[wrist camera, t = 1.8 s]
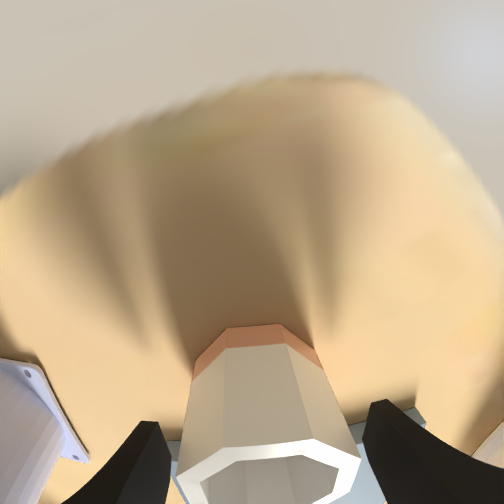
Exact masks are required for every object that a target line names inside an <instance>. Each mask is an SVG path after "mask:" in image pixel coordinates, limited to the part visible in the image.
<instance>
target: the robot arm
mask: <svg viewBox="0 0 504 504" xmlns="http://www.w3.org/2000/svg"><path fill="white" fill-rule="evenodd" d="M362 441H363V445H364V449H365V452H366V455H367V458H368V462H369V464H370V466H371V468H372V471H373V473H374V475H375V477H376V479H377V482H378V484H379V486H380V488H381V490H382V493H383V495H384V497H385V499H386V501H387V503H388V504H504V468H500V467H497V466H494V465H491V464H488V463H485V462H482V461H480V460H477V459H475V458H473V457H471V456H469V455H467V454H465V453H462V452H460V451H459V450H457V449H455V448H453V447H452V446H450V445H448V444H447V443H445V442H443V441H442V440H440V439H439V438H437V437H436V436H434V435H433V434H431V433H430V432H429V431H427V430H426V429H424V428H423V427H422V426H420V425H419V424H418V423H416V422H415V421H414V420H412V419H411V418H410V417H409V416H407V415H406V414H405V413H404V412H402V411H401V410H400V409H399V408H397V407H396V406H395V405H394V404H392V403H391V402H390V401H389V400H387V399H384V400H381V401H376V402H372V403H371V405H370V409H369V414H368V418H367V421H366V425H365V429H364V433H363V436H362ZM59 457H63V458H67V459H71V460H75V461H79V462H83V463H89V461H90V456H89V455H88V453H87V452H86V450H85V449H84V447H83V446H82V444H81V442H80V441H79V439H78V438H77V436H76V434H75V433H74V431H73V429H72V427H71V426H70V424H69V422H68V421H67V419H66V417H65V415H64V413H63V411H62V410H61V408H60V406H59V404H58V402H57V400H56V398H55V396H54V394H53V392H52V390H51V388H50V386H49V384H48V382H47V379H46V377H45V375H44V373H43V371H42V369H41V368H40V367H39V366H38V365H36V364H32V363H26V362H20V361H14V360H9V359H3V358H0V504H37V503H38V501H39V499H40V497H41V494H42V492H43V490H44V488H45V486H46V484H47V481H48V479H49V477H50V475H51V473H52V471H53V469H54V467H55V465H56V463H57V461H58V459H59ZM171 461H172V455H171V453H170V451H169V448H168V446H167V444H166V441H165V439H164V436H163V434H162V431H161V429H160V426H159V423H158V422H152V421H141V422H140V423H139V424H138V425H137V426H136V428H135V429H134V430H133V431H132V433H131V434H130V435H129V436H128V438H127V439H126V440H125V442H124V443H123V444H122V445H121V446H120V448H119V449H118V450H117V451H116V452H115V454H114V455H113V456H112V457H111V458H110V459H109V461H108V462H107V463H106V464H105V465H104V466H103V467H102V468H101V469H100V470H99V471H98V472H97V473H96V474H95V475H94V476H93V478H92V479H91V480H90V481H88V482H87V483H86V484H85V485H84V486H83V487H82V488H81V489H80V490H78V491H77V492H76V493H75V494H73V495H72V496H71V497H70V498H68V499H67V500H66V501H64V502H63V503H61V504H165V502H166V497H167V493H168V488H169V483H170V475H171Z"/></svg>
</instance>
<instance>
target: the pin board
mask: <svg viewBox="0 0 504 504" xmlns="http://www.w3.org/2000/svg"><path fill="white" fill-rule="evenodd" d="M402 412H404V413H405V414H406V415H407V416H409V417H410V418H411V419H412V420H414V421H415V422H416V423H418V424H419V425H420V426H422V427H423V428H425V425H426V421H425V420H424V419H423V417H422V416H421V414H420V413H419V411H418V410H417V409H416V407H414V408H411V409H408V410H405V411H402ZM365 425H366V422H362V423H357V424H353V425H348V427H349V430H350V432H351V435H352V437H353V439H354V442H355V444H356V446H357V449H358V451H359V454H360V456H361V458H362V459H361V462H360V465H359V468H358V470H357V473H356V476H355V479H354V481H353V484H352V487H351V489H350V492H348V493H346V494H345V495H343V496H341V497H339V498H337V499H336V500H334V501H332V502H330V503H328V504H384V503H385V501H386V499H385V497H384V495H383V493H382V490H381V488H380V486H379V484H378V482H377V479H376V477H375V475H374V473H373V471H372V468H371V466H370V464H369V462H368V458H367V455H366V452H365V449H364V445H363V441H362V436H363V433H364V429H365ZM180 445H181V441H168V443H167V446H168V448H169V451H170V453H171V455H172V461H171V476H172V478H173V480H174V482H175V484H176V486H177V488H178V490H179V492H180V494H181V495H182V497H183V499H184V501H185V502H186V504H190V503H189V502H188V500H187V498H186V496H185V494H184V492H183V490H182V488H181V486H180V485H179V483H178V481H177V479H176V470H177V464H178V457H179V451H180Z"/></svg>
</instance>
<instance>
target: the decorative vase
mask: <svg viewBox="0 0 504 504" xmlns="http://www.w3.org/2000/svg"><path fill="white" fill-rule="evenodd" d="M471 457H473V458H475V459H477V460H480V461H482V462H485V463H488V464H491V465H494V466H497V467H500V468H504V421H503V422H502V423H501V424H500V425H499V426H498V427H497V428H496V429H495V430H494V431H493V432H492V433H491V434H490V435H489V437H488V438H487V439H486V440H485V441H484V442H483V443H482V444H481V445H480V447H479V448H478V449H477V450H476V451H475V452H474V454H473V455H472V456H471Z"/></svg>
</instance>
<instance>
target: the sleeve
mask: <svg viewBox="0 0 504 504" xmlns="http://www.w3.org/2000/svg"><path fill="white" fill-rule="evenodd" d="M361 459H362V458H361V456H360V454H359V451H358V449H357V446H356V444H355V442H354V439H353V437H352V435H351V432H350V430H349V427H348V425H347V423H346V420H345V418H344V416H343V413H342V411H341V409H340V406H339V404H338V402H337V399H336V397H335V395H334V393H333V390H332V388H331V386H330V383H329V381H328V379H327V376H326V374H325V372H324V370H323V367H322V365H321V363H320V360H319V358H318V356H317V354H316V351H315V350H314V349H313V348H311V347H310V346H309V345H307V344H306V343H305V342H303V341H302V340H301V339H299V338H298V337H297V336H295V335H294V334H293V333H291V332H290V331H289V330H287V329H286V328H285V327H283V326H282V325H281V324H271V325H260V326H248V327H234V328H227V329H226V330H225V331H224V332H223V333H222V334H221V335H220V336H219V337H218V338H217V339H216V340H215V341H214V342H213V343H212V344H211V345H210V346H209V347H208V348H207V349H206V350H205V351H204V352H203V353H202V354H201V355H200V356H199V357H198V358H197V359H196V361H195V366H194V372H193V377H192V382H191V388H190V393H189V399H188V404H187V410H186V416H185V421H184V427H183V433H182V439H181V445H180V451H179V457H178V464H177V470H176V479H177V481H178V483H179V485H180V486H181V488H182V490H183V492H184V494H185V496H186V498H187V500H188V502H189V503H190V504H328V503H330V502H332V501H334V500H336V499H337V498H339V497H341V496H343V495H345V494H346V493H348V492H350V489H351V487H352V484H353V481H354V479H355V476H356V473H357V470H358V468H359V465H360V462H361Z"/></svg>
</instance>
